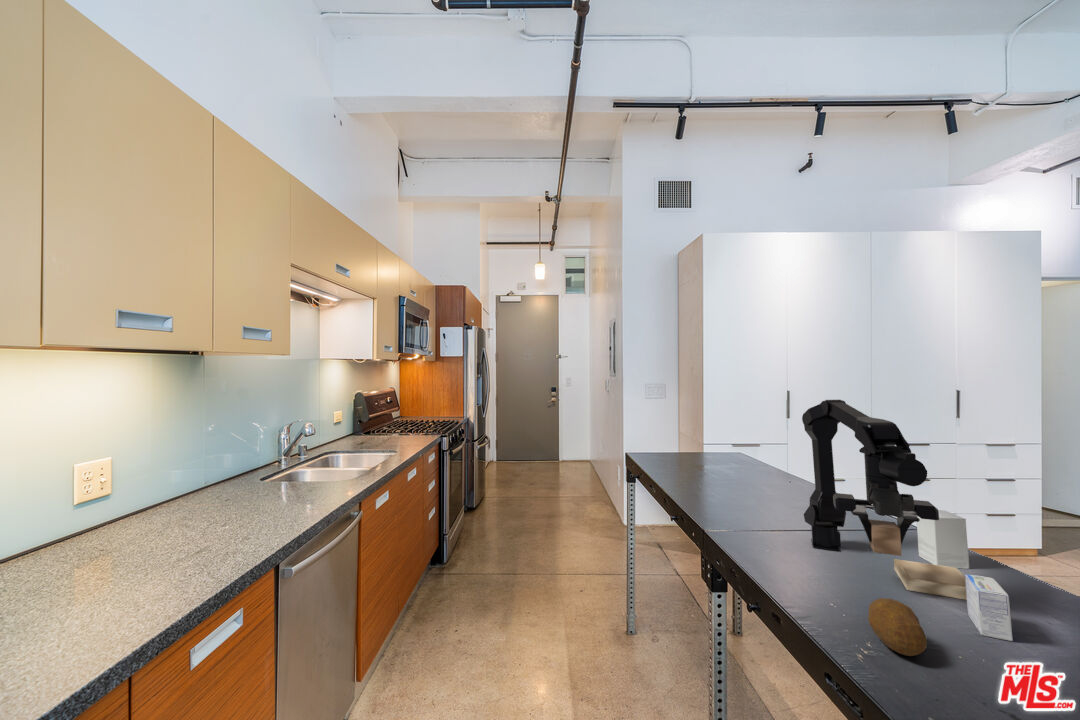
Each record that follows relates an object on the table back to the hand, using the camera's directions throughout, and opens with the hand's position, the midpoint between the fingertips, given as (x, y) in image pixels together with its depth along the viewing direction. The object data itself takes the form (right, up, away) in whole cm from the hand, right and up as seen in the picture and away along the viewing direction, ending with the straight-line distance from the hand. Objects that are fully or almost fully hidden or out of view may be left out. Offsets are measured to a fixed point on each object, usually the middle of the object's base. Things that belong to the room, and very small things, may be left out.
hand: (884, 543), depth 100 cm
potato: (-14, -11, -20) cm, 26 cm away
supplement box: (+26, -11, +13) cm, 31 cm away
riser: (+13, -11, +2) cm, 17 cm away
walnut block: (0, -2, 0) cm, 2 cm away
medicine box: (+8, -10, -16) cm, 20 cm away
